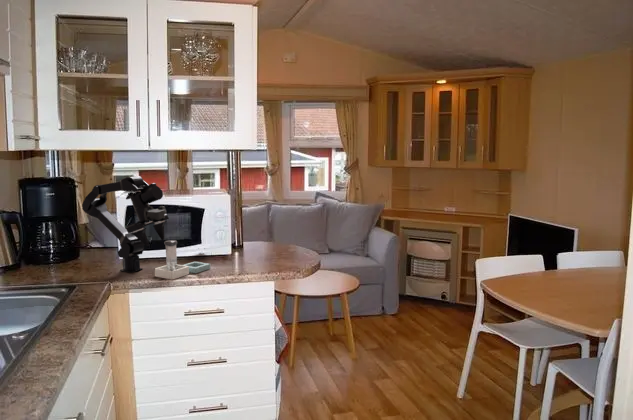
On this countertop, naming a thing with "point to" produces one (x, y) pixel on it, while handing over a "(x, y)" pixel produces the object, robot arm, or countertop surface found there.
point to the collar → (197, 266)
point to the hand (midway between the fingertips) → (155, 242)
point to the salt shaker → (171, 255)
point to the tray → (171, 272)
